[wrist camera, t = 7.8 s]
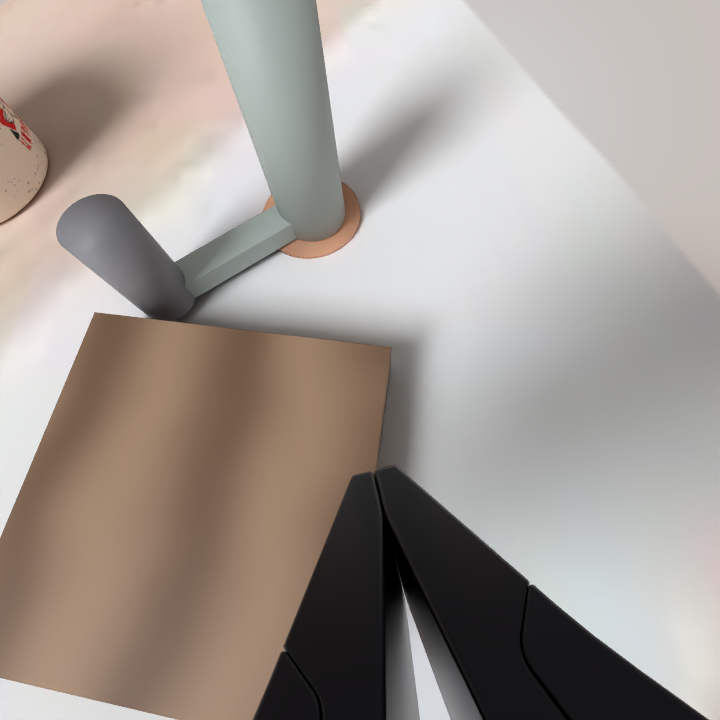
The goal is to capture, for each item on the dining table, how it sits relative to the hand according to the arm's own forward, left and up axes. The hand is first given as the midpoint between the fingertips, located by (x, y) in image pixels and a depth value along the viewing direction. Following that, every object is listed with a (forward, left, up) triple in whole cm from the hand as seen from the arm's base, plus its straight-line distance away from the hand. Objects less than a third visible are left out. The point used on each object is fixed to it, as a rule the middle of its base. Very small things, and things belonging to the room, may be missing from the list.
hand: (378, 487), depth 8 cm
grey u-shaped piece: (+9, +11, -10) cm, 18 cm away
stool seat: (+3, +8, -11) cm, 14 cm away
